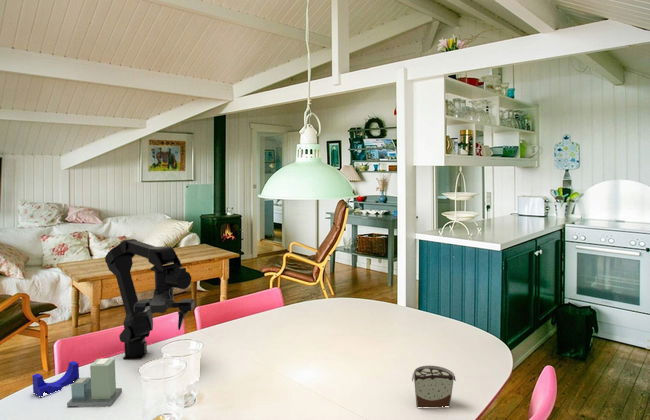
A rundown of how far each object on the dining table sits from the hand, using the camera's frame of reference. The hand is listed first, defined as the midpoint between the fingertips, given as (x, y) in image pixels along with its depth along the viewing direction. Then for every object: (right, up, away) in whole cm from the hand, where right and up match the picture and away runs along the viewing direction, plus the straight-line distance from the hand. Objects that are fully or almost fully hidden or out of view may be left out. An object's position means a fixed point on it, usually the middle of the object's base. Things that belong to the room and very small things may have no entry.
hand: (165, 330), depth 149 cm
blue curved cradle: (-28, -15, -13) cm, 34 cm away
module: (-11, -14, -20) cm, 26 cm away
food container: (+85, -15, -21) cm, 89 cm away
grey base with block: (-13, -15, -20) cm, 28 cm away
